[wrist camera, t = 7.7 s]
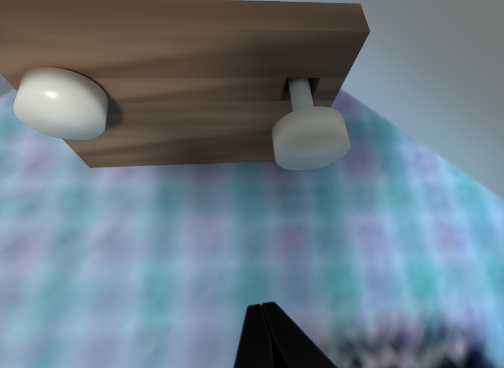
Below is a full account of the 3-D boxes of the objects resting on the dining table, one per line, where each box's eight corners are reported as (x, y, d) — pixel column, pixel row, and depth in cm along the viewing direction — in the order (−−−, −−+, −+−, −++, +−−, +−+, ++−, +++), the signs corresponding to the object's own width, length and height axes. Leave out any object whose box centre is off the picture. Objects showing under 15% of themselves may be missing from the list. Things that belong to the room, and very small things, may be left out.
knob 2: (334, 169, 18) (363, 132, 14) (270, 172, 17) (282, 134, 13) (311, 64, 21) (329, 12, 17) (256, 64, 20) (263, 10, 17)
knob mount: (302, 159, 26) (370, 31, 14) (89, 167, 24) (-46, 25, 12) (294, 113, 28) (347, -34, 16) (97, 117, 26) (-13, -49, 14)
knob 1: (115, 139, 17) (86, 93, 13) (43, 141, 17) (-8, 94, 13) (127, 36, 20) (106, -24, 17) (67, 35, 20) (31, -26, 16)
